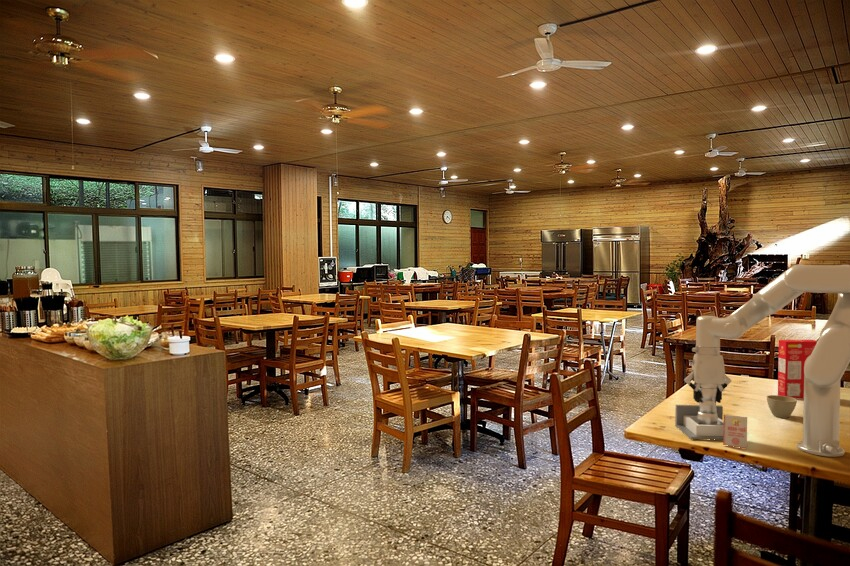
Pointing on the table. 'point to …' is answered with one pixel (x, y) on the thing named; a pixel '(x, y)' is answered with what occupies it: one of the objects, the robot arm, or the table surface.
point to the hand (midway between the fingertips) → (707, 401)
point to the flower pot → (781, 405)
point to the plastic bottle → (707, 405)
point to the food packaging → (793, 366)
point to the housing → (691, 426)
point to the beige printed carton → (735, 431)
